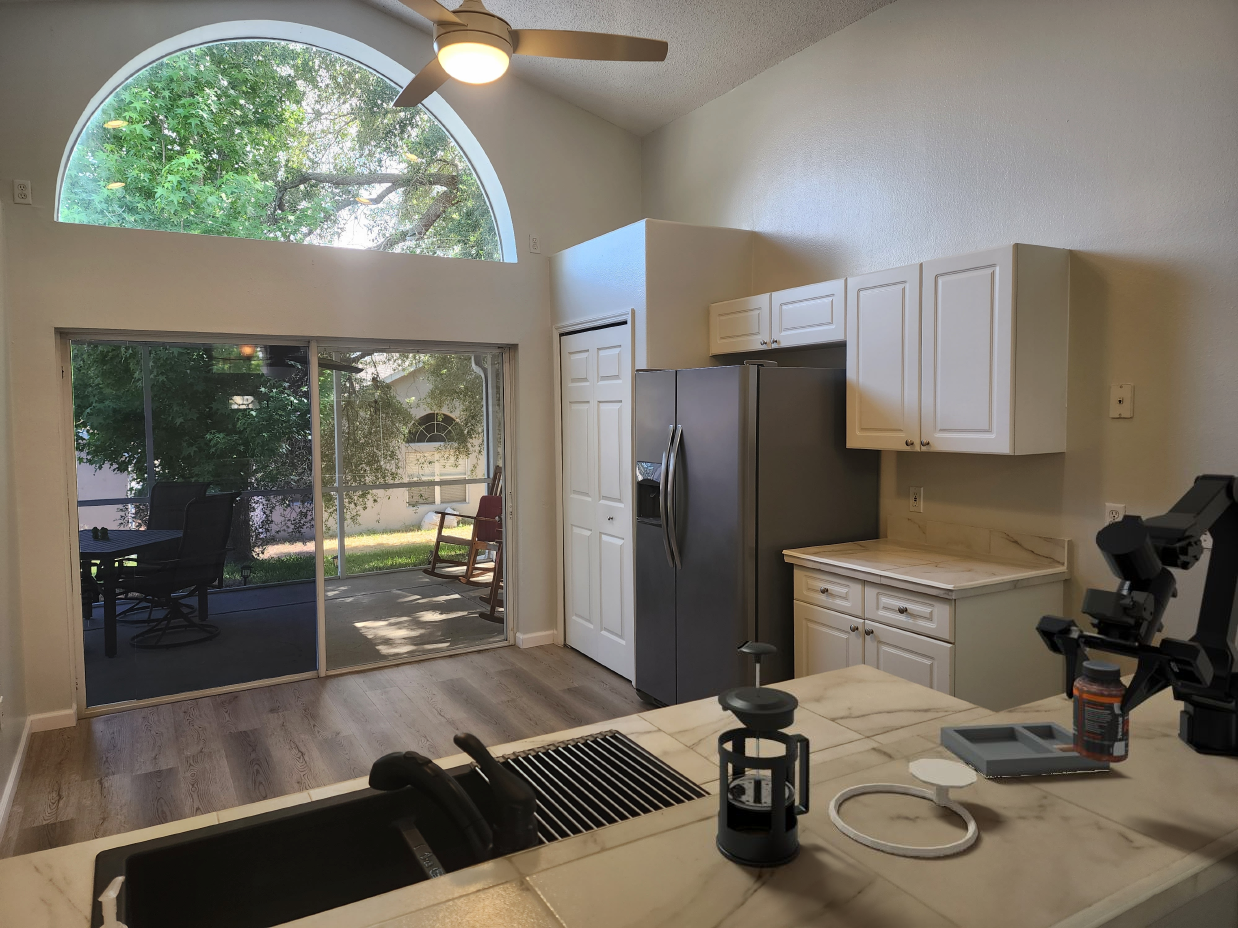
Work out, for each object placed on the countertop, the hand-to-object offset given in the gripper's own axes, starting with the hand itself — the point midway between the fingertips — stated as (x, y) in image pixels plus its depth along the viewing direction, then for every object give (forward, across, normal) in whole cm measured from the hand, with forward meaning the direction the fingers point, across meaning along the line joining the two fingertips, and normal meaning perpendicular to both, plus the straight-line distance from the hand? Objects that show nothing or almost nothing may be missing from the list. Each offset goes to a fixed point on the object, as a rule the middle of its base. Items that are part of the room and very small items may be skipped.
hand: (1094, 704), depth 97 cm
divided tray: (+4, -14, +15) cm, 21 cm away
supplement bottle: (+4, 0, +6) cm, 7 cm away
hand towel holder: (+24, -12, -5) cm, 27 cm away
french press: (+37, -17, -19) cm, 45 cm away
